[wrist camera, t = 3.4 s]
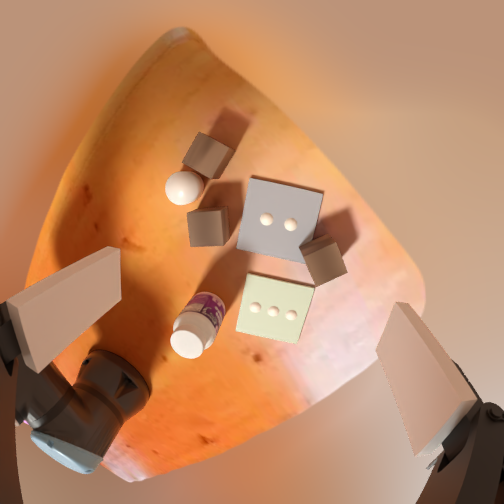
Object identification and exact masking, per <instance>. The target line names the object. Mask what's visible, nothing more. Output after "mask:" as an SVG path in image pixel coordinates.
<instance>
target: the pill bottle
mask: <svg viewBox="0 0 504 504" xmlns="http://www.w3.org/2000/svg"><path fill="white" fill-rule="evenodd" d="M224 316H225V305H224V303H223V301H222V300H221V299H220V298H219V297H218V296H217V295H215V294H213V293H210V292H200V293H197V294H196V295H194V296H193V297H192V298H191V300H190V301H189V302H188V304H187V305H186V306H185V308H184V309H183V310H182V312H181V313H180V314H179V316H178V317H177V318H176V320H175V322H174V326H173V331H174V332H173V334H172V336H171V340H170V341H171V345H172V348H173V349H174V350H175V352H177V353H178V354H179V355H181V356H183V357H185V358H196V357H198V356H200V355H201V354H202V352H203V350H205V349H207V348H208V347H210V346H211V345H212V343H213V342H214V340H215V337H216V335H217V333H218V330H219V328H220V326H221V323H222V321H223V319H224Z"/></svg>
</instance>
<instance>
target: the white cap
mask: <svg viewBox="0 0 504 504" xmlns="http://www.w3.org/2000/svg"><path fill="white" fill-rule="evenodd" d="M165 189H166V194H167V197H168V198H169V200H170V201H171V202H173V203H174V204H177V205H185V204H188V203H191V202H194V201H196V200H198V199H199V198H200V197H201V195H202V193H203V190H204V183H203V180H202V178H201V177H200V176H199V175H198V174H197V173H195V172H190V171H181V172H176V173H174V174H172V175H171V176H170V177H169V178H168V180H167V182H166V187H165Z"/></svg>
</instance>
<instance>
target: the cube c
mask: <svg viewBox="0 0 504 504" xmlns="http://www.w3.org/2000/svg"><path fill="white" fill-rule="evenodd" d="M299 249H300V251H301V254H302V256H303V258H304V261H305V263H306V265H307V267H308V270H309V272H310V274H311V276H312V279H313V281H314V283H315V285H316V287H317V286H320V285H322V284H324V283H326V282H328V281H330V280H333V279H335V278H337V277H339V276H341V275H343V274H345V273H348V272H347V270H346V267H345V264H344V261H343V259H342V256H341V253H340V251H339V248H338V245H337V243H336V241H335V240H334V239H333V238H332V237H331V236H330V235H329V234H326V235H323V236H321V237H319V238H317V239H315V240H312V241H310V242H308V243H306V244H304V245H302V246H299Z"/></svg>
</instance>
